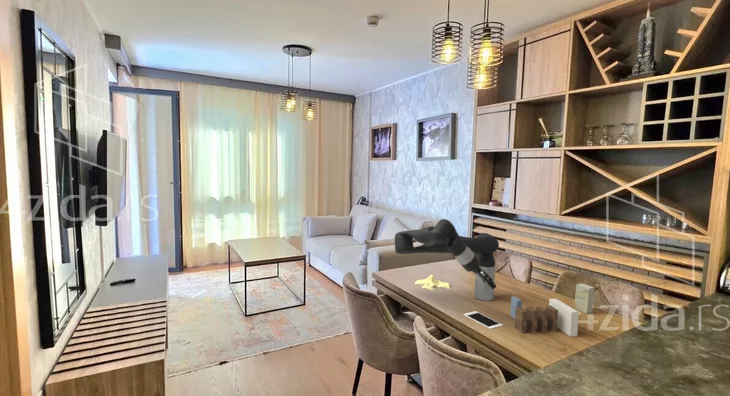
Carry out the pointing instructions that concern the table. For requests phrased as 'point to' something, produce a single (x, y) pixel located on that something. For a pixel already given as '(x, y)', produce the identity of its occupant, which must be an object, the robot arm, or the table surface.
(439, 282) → the cloth
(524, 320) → the walnut domino
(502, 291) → the table surface
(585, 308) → the skincare box
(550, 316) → the walnut domino
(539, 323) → the walnut domino
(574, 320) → the block
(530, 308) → the walnut domino
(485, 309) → the table surface
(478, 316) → the cell phone
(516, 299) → the slate domino
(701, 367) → the table surface
